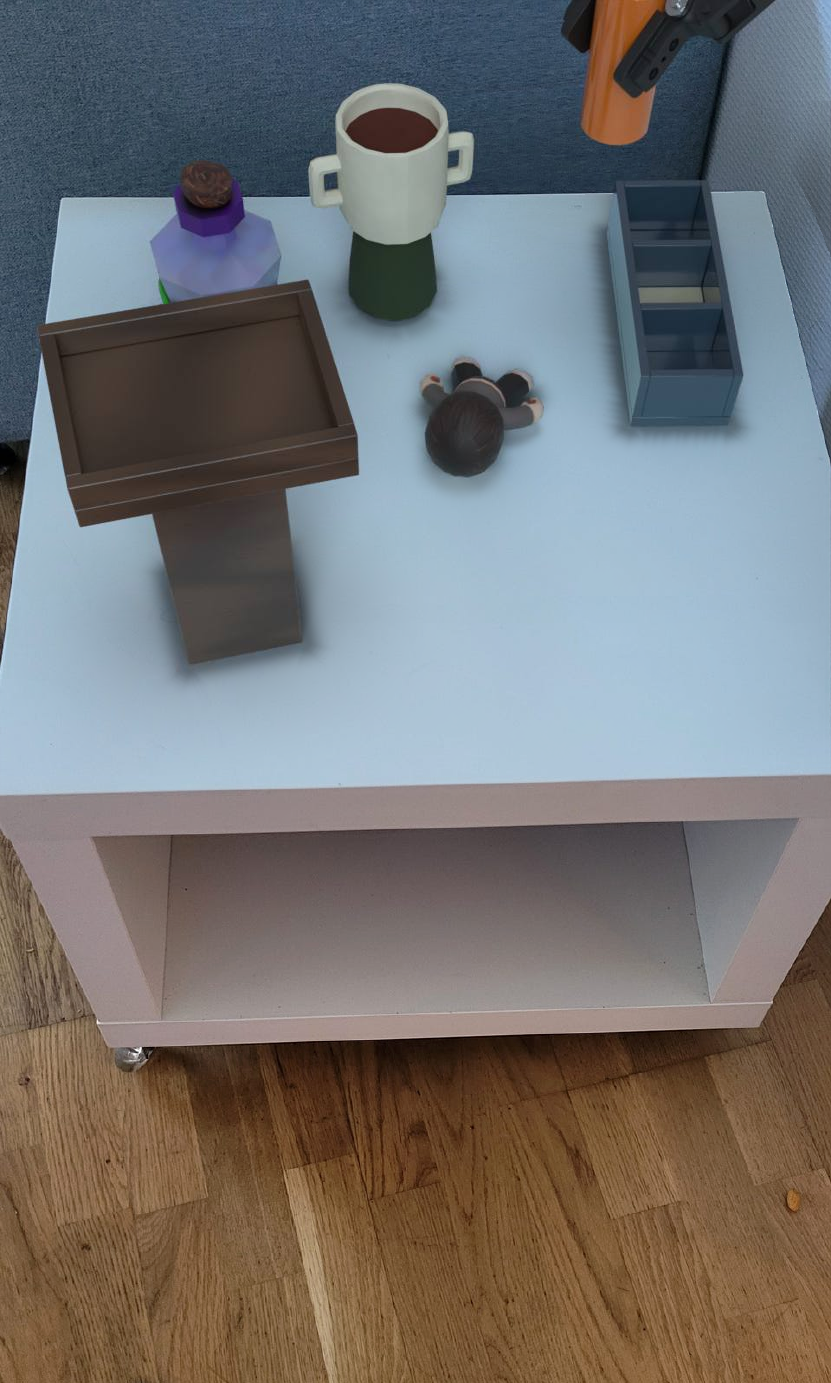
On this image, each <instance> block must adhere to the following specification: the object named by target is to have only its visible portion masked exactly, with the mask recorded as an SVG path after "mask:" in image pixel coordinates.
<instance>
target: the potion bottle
mask: <svg viewBox="0 0 831 1383" xmlns="http://www.w3.org/2000/svg"><path fill="white" fill-rule="evenodd" d="M179 177H180V178H179V179H180V180H179V181H180V184H179V185H178V186H176V188H174V190H172V195H173V200H174V201H173V202H174V207H175V211H176V214H175V215H174V216H173V217H172V218H171V219H170V220H168V222H167V223H166V224H165V225H164V226H163V227H162V228H161V229H160V230H159V231H158V232H157V233H156V234H155V235H154V236H153V237H152V238H151V239H150V241H149V244H150V248H151V251H152V255H153V260H154V264H155V267H156V271H157V275H158V282H157V284H158V291H159V295H160V298H161V301H162V304H166V303H171V302H177V301H183V300H189V299H195V298H201V297H207V296H213V295H219V294H225V293H231V292H237V291H242V290H248V289H254V288H260V287H266V286H272V285H278V280H279V275H280V274H279V273H280V268H281V267H280V266H281V261H282V253H281V250H280V246H279V243H278V240H277V237H276V233H275V230H274V228H273V224H272V221H271V220H270V219H266V218H265V217H262V216H260V215H257V214H255V213H252V212H250V211H248V210H245V204H244V198H243V194H242V191H241V188H240V185H239V182H238V180H236V179H233V177H232V175H231V173H230V171H229V170H228V169H227V168H226V167H225V166H224V165H223V164H221V163H217V162H214V161H209V160H205V159H203V160H196V161H193V162H191V163H189V164H187V165H186V166H184V168H183V169H182V170H181V173H180V176H179Z"/></svg>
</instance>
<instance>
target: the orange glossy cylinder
mask: <svg viewBox="0 0 831 1383" xmlns="http://www.w3.org/2000/svg"><path fill="white" fill-rule="evenodd" d="M665 4H666V0H596V2H595V10H594V18H593V25H592V33H591V40H590V48H589V50H588V57H587V63H586V71H585V79H584V86H583V93H582V102H581V110H580V118H579V123H580V126H581V129H582V130H583V132H584V133H585V134H586V135H587V136H588V137H589V138H591V139H592V140H594V141H596V142H599V143H602V144H604V145H609V146H626V145H630V144H633V143H636V142H637V141H640V140H641V139H642V138H643V137H644V136H645V135H646V134H647V133H648V131H649V129H650V124H651V119H652V113H653V107H654V102H655V96H656V91H657V85H658V82H657V83H656V85H655V86H654V87H653V88H651V89H650V90H649V91H648V92H645V91H643V92H642V94H641V95H640V96H639V97H637V98H632V97H631V96H630V95H629V94H628V93H626V92H625V91H624V90H623V89H622V88H621V87H620V86H619V85H618V84H617V83H616V82H615V81H614V79H613V74H614V71H615V69H616V68H617V66H618V65H619V63H620V62H621V60H622V59H623V58H624V56H625V55H626V53H627V52H628V50H629V49H630V47H631V46H632V44H633V43H634V42H635V40H636V39H637V37H638V36H639V34H640V33H641V31H642V30H643V29H644V27H645V26H646V24H647V23H648V21H649V20H650V18H651V17H652V16H653V14H654V13H655V11H656V10H657V9H658V10H659V11H660V12H661V13H662V14H663V13H664V12H665Z"/></svg>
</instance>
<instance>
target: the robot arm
mask: <svg viewBox="0 0 831 1383" xmlns="http://www.w3.org/2000/svg"><path fill="white" fill-rule="evenodd" d="M775 1H776V0H666V4H665V12H664V13H663V14H662V13H661V12H660V11H659V10H658V9H657V10H656V11H655V13H654V14H653V16H652V17H651V18H650V20H649V21H648V23H647V24H646V26H645V27H644V29H643V30H642V31H641V33H640V34H639V36H638V37H637V39H636V40H635V42H634V43H633V44H632V46H631V47H630V49H629V50H628V52H627V53H626V55H625V56H624V58H623V59H622V60H621V62H620V63H619V65H618V66H617V68H616V69H615V71H614V74H613V79H614V81H615V82H616V83H617V84H618V85H619V86H620V87H621V88H622V89H623V90H624V91H625V92H626V93H628V94H629V95H630V96H631V97H632V98H637V97H639V96H640V95H641V94H642V92H643V91H645V92H648V91H649V90H650V89H651V88H653V87H654V86H655V85H656V83H657V84H658V82H659V81H660V79H661V78H662V76H663V75H664V73H665V72H666V71H667V68H669V67H670V65H671V64H672V63H673V61H674V59H675V58H676V57H677V56H678V54H679V52H680V51H681V50H682V48H683V47H684V45H685V44H686V43H687V42H688V41H689V40H690V39H692V38H695V37H698V36H700V37H705V38H709V39H712V40H713V41H714V42H715V43H716V44H718V45H723V44H727V42H729V41H730V40H732V39H733V38H734V37H735V36H736V35H737V34H738V33H739V32H741V31H742V30H743V29H744V28H745V27H747V26H748V25H750V23H751V22H752V21H753V20H755V19H756V18H757V17H759V15H761V14H762V13H763V12H764V11H765V10H766V9H767V8H769V7H770V6H771V5H772V4H773V3H774V2H775ZM595 2H596V0H571V1H570V3H569V4H568V5H567V7H566V8H565V12H564V14H563V18H562V20H563V23H562V24H561V28H560V35H561V36H562V37H563V38H564V40H566V41H567V42H568V43H569V44H570V45H571V46H572V47H573V48H574V49H575V50H577V51H578V52H579V53H581V54H585V53H587V52H589V48H590V40H591V33H592V25H593V18H594V10H595Z"/></svg>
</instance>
